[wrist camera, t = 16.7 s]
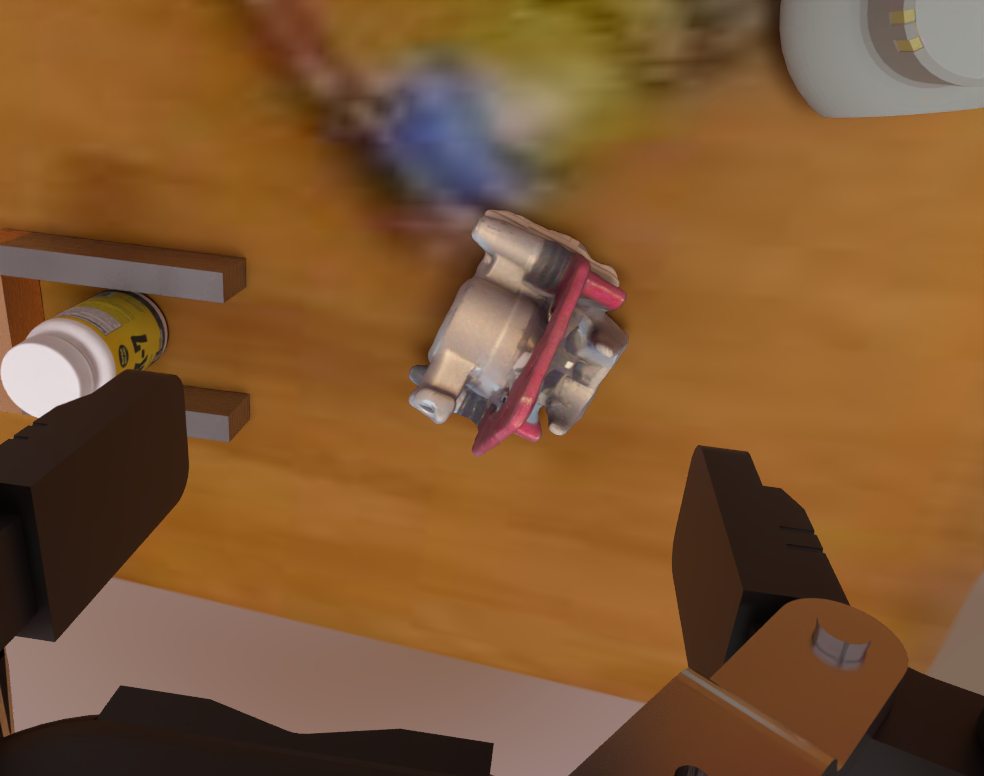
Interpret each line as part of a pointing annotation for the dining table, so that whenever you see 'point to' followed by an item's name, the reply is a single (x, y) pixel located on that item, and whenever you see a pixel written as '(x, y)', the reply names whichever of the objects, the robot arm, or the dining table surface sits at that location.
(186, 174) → the dining table surface
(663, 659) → the dining table surface
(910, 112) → the air freshener
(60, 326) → the supplement bottle
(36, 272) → the frame
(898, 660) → the robot arm
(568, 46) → the dining table surface
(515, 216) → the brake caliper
